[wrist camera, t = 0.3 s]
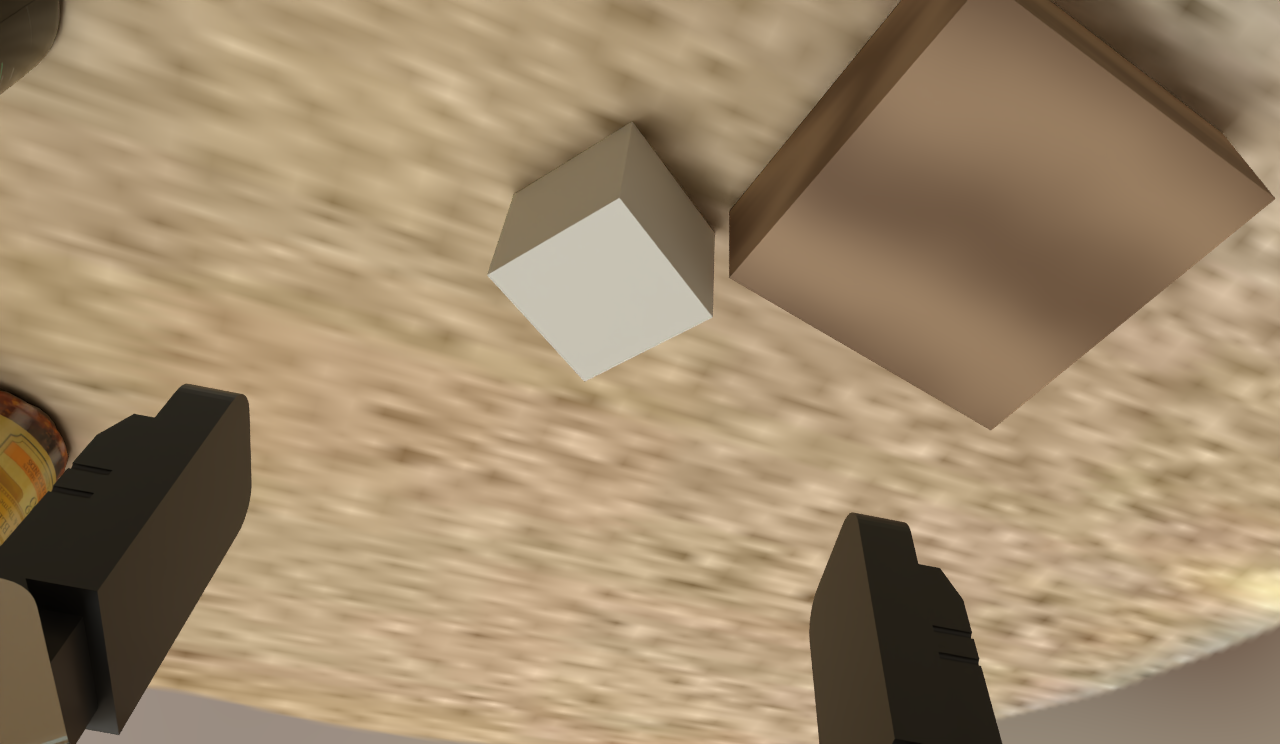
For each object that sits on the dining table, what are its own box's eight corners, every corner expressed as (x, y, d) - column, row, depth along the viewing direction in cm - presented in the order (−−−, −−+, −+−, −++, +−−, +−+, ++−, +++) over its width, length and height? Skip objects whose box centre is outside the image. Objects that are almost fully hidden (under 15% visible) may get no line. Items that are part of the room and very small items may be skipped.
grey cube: (632, 120, 33) (619, 197, 29) (714, 231, 35) (712, 317, 32) (513, 193, 35) (487, 275, 31) (599, 294, 38) (584, 381, 34)
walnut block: (958, -70, 29) (986, -22, 25) (1222, 133, 32) (1275, 198, 29) (729, 211, 35) (729, 277, 32) (969, 357, 38) (990, 430, 35)
